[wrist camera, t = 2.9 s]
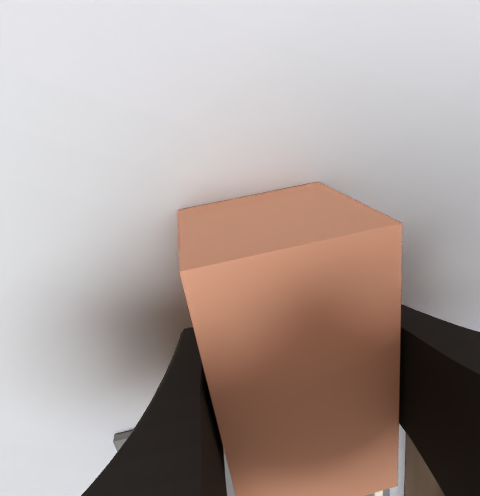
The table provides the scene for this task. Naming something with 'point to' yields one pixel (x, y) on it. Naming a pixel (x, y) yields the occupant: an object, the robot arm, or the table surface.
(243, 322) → the terracotta block
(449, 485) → the robot arm
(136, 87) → the table surface
